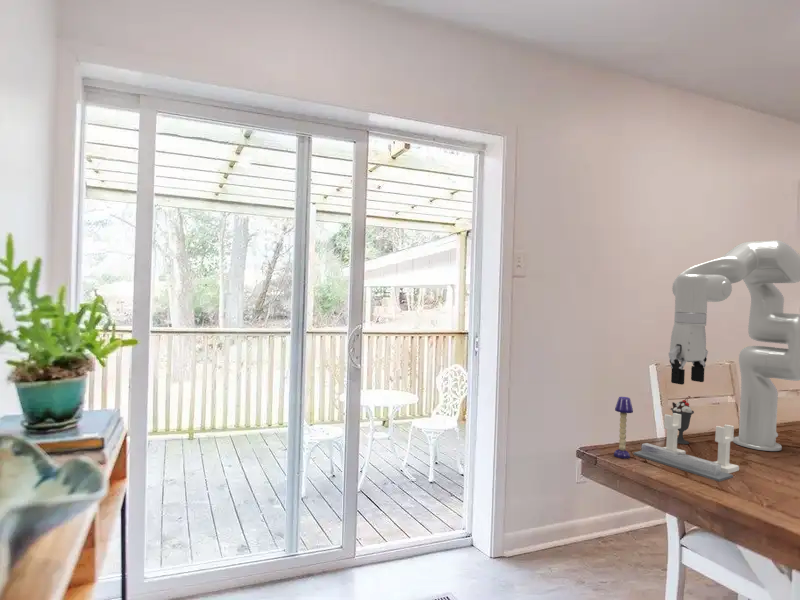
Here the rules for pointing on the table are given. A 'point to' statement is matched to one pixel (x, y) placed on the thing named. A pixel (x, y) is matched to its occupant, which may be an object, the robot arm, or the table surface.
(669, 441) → the rack
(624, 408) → the toy lamp
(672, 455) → the rail
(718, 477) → the mat
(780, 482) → the table surface
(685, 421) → the sundae
